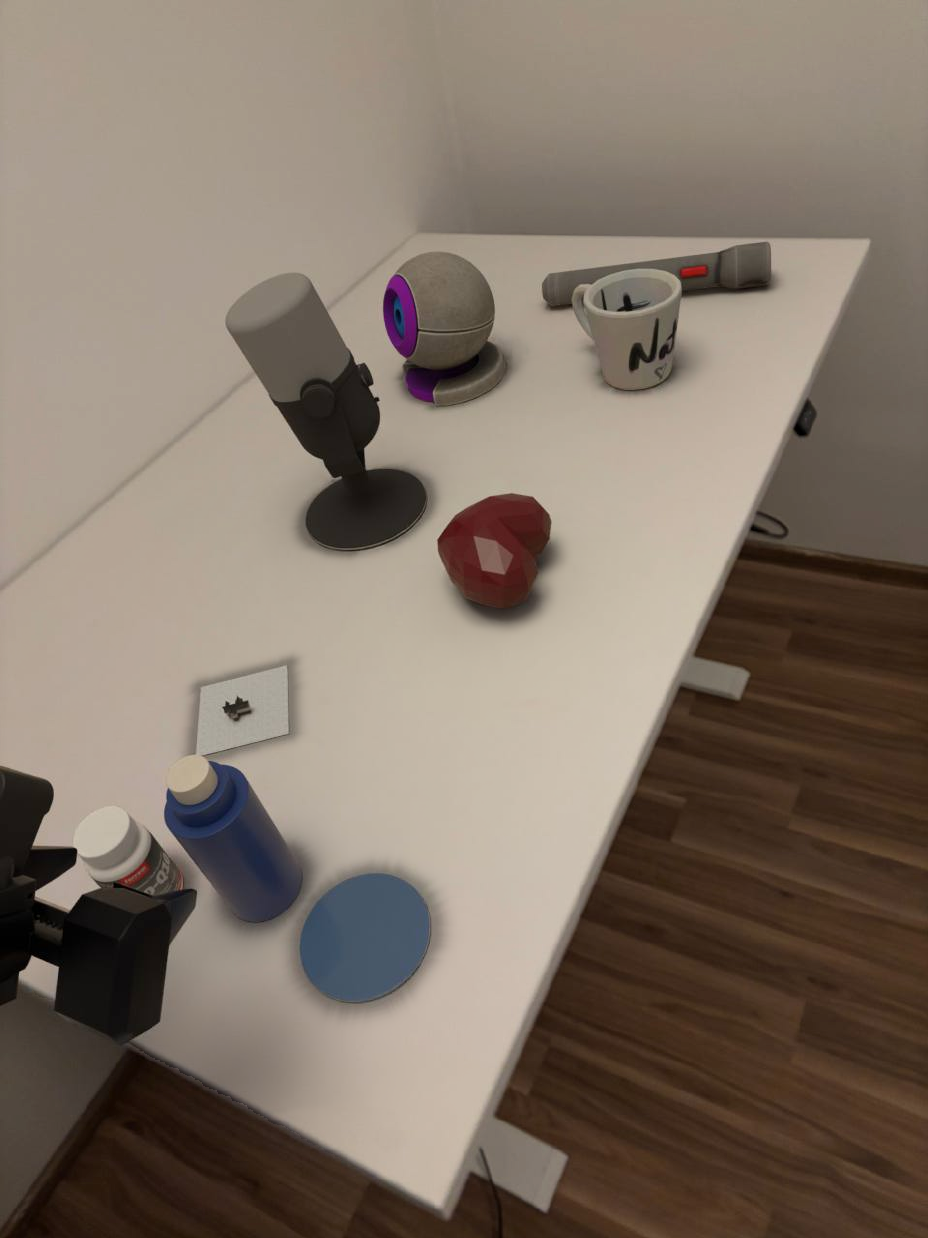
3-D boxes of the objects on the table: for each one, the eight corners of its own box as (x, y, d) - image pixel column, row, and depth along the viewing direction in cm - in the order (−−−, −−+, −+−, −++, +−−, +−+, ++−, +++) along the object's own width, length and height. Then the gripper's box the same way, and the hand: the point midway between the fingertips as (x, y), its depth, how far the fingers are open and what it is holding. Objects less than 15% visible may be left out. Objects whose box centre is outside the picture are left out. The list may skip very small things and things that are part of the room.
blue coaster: (372, 1030, 57) (371, 1028, 57) (274, 957, 62) (272, 955, 61) (457, 913, 61) (456, 911, 61) (359, 854, 66) (358, 852, 66)
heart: (420, 615, 81) (528, 634, 79) (412, 550, 76) (527, 568, 74) (458, 530, 89) (557, 545, 87) (453, 466, 84) (559, 479, 82)
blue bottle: (264, 936, 63) (182, 826, 53) (212, 898, 66) (125, 787, 56) (318, 873, 66) (249, 757, 56) (265, 839, 69) (191, 723, 59)
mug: (638, 408, 99) (632, 323, 92) (547, 369, 109) (535, 289, 102) (704, 365, 103) (703, 280, 96) (610, 330, 112) (602, 251, 105)
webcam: (387, 375, 115) (354, 260, 105) (475, 337, 117) (452, 221, 107) (429, 418, 106) (398, 296, 96) (525, 375, 108) (504, 253, 98)
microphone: (307, 488, 101) (221, 270, 83) (421, 461, 100) (359, 235, 83) (306, 563, 91) (210, 334, 74) (432, 533, 91) (365, 296, 73)
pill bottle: (161, 930, 65) (106, 870, 59) (110, 914, 67) (52, 854, 61) (196, 871, 68) (148, 809, 62) (146, 857, 70) (95, 795, 64)
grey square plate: (254, 695, 80) (247, 680, 78) (254, 719, 78) (246, 705, 76) (228, 701, 80) (220, 687, 78) (227, 726, 78) (219, 712, 76)
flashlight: (545, 270, 120) (538, 269, 116) (768, 242, 113) (771, 239, 108) (548, 310, 122) (541, 310, 117) (769, 284, 114) (771, 284, 109)
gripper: (36, 843, 35) (281, 776, 49) (-251, 741, 42) (33, 709, 56) (6, 1122, 35) (255, 976, 50) (-271, 973, 43) (14, 883, 57)
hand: (132, 876), depth 53 cm, fingers open, 9 cm apart
